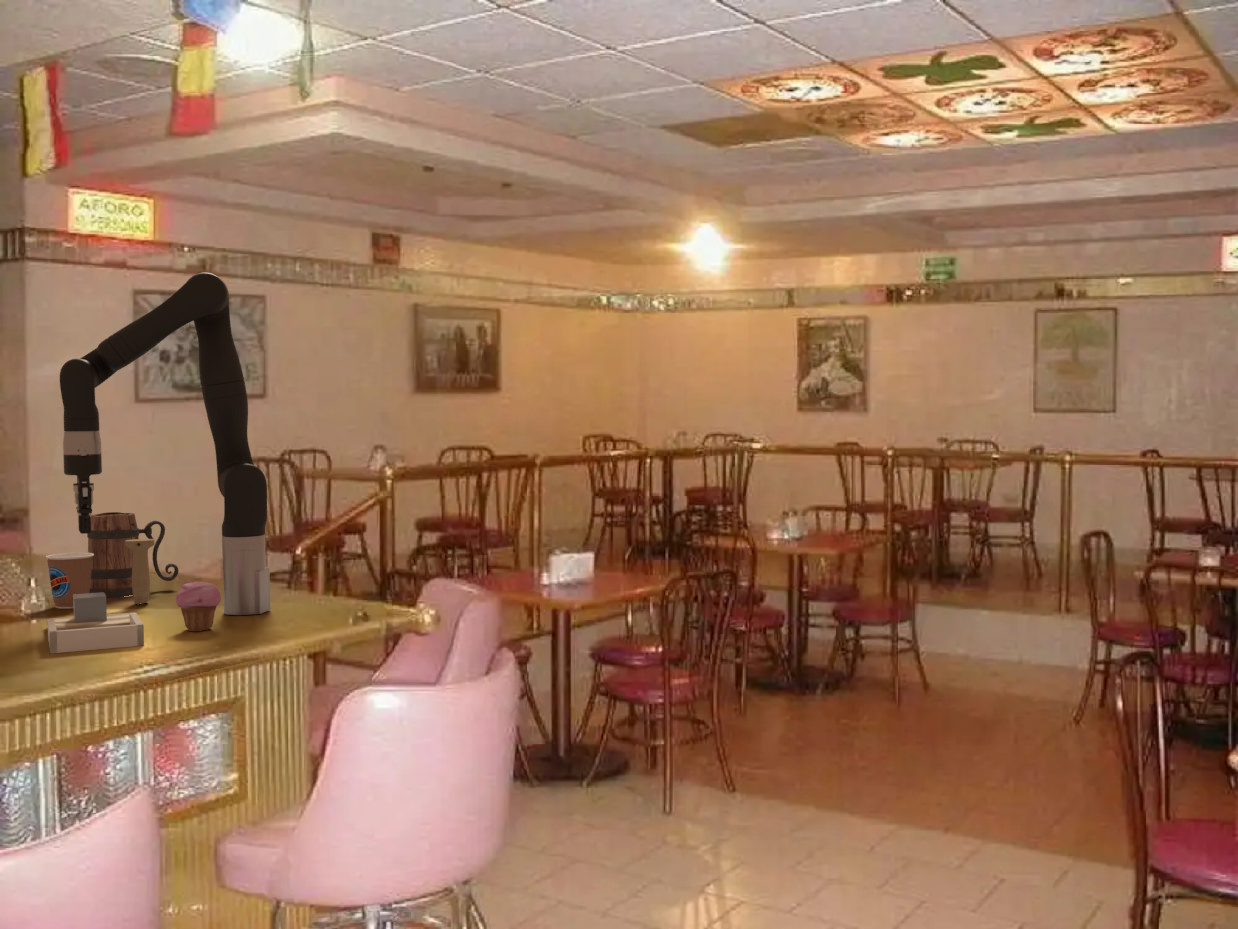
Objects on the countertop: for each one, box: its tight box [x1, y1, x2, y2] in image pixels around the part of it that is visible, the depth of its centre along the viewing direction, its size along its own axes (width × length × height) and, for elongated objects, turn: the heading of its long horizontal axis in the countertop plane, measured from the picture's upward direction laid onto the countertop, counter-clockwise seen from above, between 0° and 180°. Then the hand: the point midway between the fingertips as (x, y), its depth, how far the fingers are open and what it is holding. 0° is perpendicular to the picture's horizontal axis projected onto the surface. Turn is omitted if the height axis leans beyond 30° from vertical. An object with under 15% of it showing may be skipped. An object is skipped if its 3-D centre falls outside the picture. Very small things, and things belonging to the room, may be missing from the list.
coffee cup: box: [45, 552, 94, 610], centre depth 295 cm, size 10×10×12 cm
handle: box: [125, 538, 155, 605], centre depth 297 cm, size 5×6×15 cm
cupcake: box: [175, 580, 221, 633], centre depth 261 cm, size 9×9×10 cm
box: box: [47, 612, 145, 654], centre depth 248 cm, size 17×16×4 cm
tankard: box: [86, 511, 179, 600], centre depth 316 cm, size 24×17×20 cm
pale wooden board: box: [46, 612, 130, 631], centre depth 262 cm, size 14×16×2 cm
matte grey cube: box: [72, 592, 108, 623], centre depth 263 cm, size 7×6×5 cm
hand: (84, 532), depth 273 cm, fingers open, 3 cm apart
